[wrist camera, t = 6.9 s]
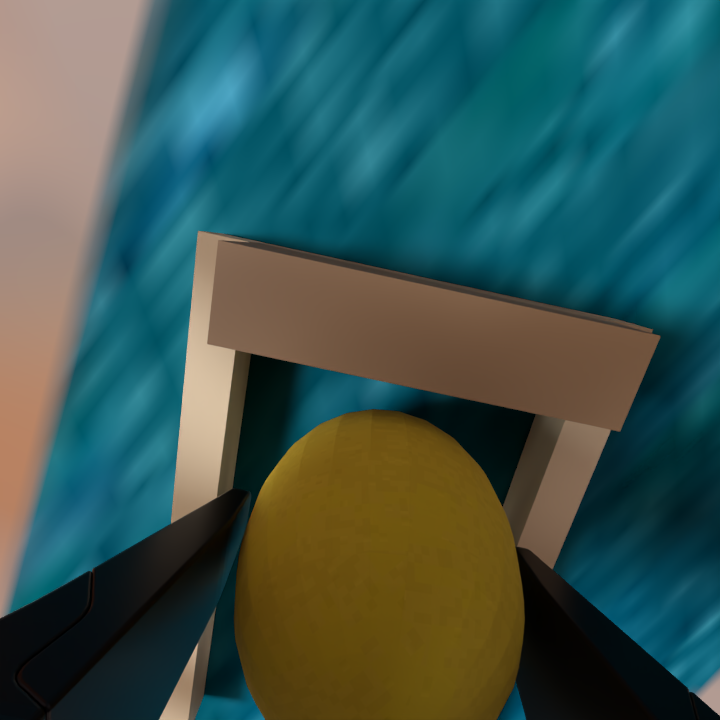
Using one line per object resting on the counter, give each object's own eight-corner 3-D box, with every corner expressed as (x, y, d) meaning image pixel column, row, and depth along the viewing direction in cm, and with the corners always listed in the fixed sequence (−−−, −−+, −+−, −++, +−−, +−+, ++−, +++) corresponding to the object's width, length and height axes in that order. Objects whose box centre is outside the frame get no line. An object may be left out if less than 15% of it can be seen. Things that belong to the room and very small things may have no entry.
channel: (450, 743, 15) (471, 883, 12) (172, 689, 15) (114, 815, 12) (615, 319, 11) (725, 350, 7) (222, 233, 11) (151, 225, 7)
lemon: (357, 556, 13) (327, 973, 6) (253, 432, 12) (45, 738, 5) (501, 475, 12) (706, 853, 5) (402, 332, 11) (453, 511, 4)
